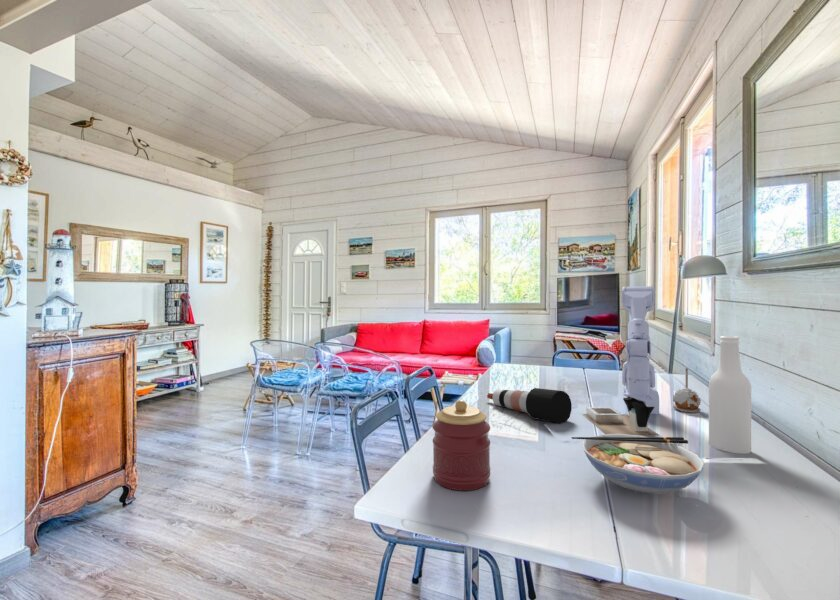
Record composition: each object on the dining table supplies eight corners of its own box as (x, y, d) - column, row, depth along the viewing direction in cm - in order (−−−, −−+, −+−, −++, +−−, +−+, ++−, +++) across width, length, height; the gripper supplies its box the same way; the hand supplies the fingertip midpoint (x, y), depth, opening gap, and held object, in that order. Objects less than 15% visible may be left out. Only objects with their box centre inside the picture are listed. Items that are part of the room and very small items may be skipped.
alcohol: (748, 448, 105) (748, 335, 105) (753, 460, 98) (753, 338, 97) (707, 441, 110) (707, 334, 110) (709, 452, 102) (709, 337, 102)
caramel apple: (696, 415, 134) (696, 371, 134) (670, 410, 140) (670, 368, 140) (702, 410, 140) (702, 368, 140) (677, 406, 145) (677, 365, 145)
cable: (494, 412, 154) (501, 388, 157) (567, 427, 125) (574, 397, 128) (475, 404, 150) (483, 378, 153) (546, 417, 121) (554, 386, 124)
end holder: (612, 414, 132) (612, 407, 132) (623, 422, 124) (623, 414, 124) (586, 414, 133) (586, 407, 132) (595, 422, 124) (595, 414, 124)
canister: (424, 470, 93) (423, 396, 93) (473, 462, 98) (472, 391, 97) (447, 496, 81) (446, 410, 81) (501, 485, 85) (501, 404, 85)
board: (627, 417, 132) (627, 414, 132) (659, 438, 113) (659, 435, 113) (581, 416, 133) (581, 413, 133) (605, 437, 113) (605, 434, 113)
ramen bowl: (594, 510, 75) (594, 467, 75) (566, 461, 98) (566, 428, 98) (738, 519, 72) (738, 475, 72) (675, 466, 94) (675, 432, 94)
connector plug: (641, 427, 119) (641, 404, 119) (647, 431, 116) (647, 407, 116) (629, 427, 120) (629, 404, 120) (635, 431, 116) (635, 407, 116)
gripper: (614, 374, 125) (614, 416, 125) (636, 384, 111) (636, 432, 111) (637, 374, 125) (637, 417, 125) (662, 384, 110) (662, 432, 110)
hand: (638, 424), depth 118 cm, fingers closed on connector plug, 4 cm apart
